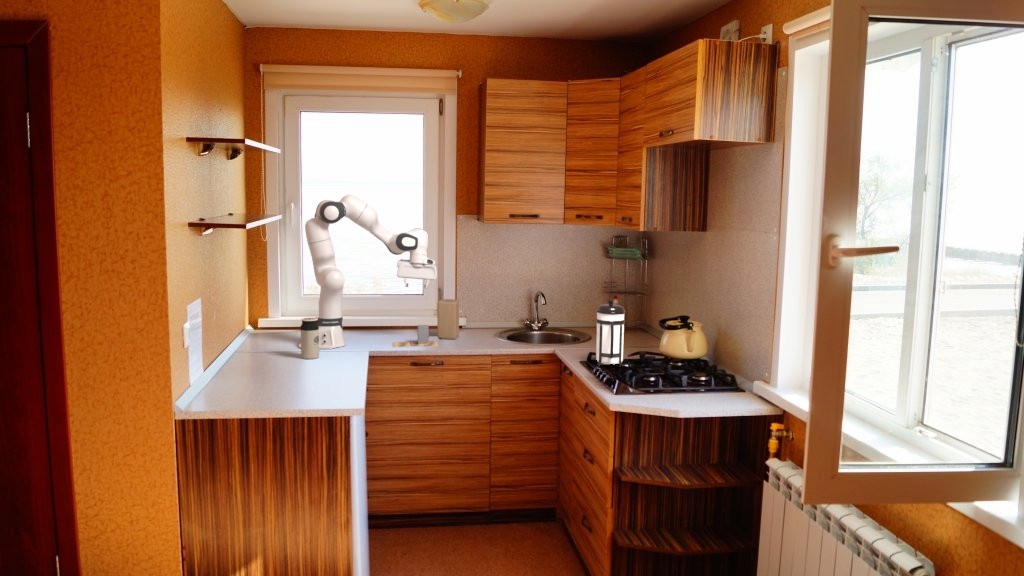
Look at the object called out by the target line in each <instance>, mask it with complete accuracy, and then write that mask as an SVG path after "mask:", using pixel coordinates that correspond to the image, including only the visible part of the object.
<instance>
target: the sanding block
mask: <svg viewBox="0 0 1024 576" xmlns="http://www.w3.org/2000/svg"><path fill="white" fill-rule="evenodd" d="M429 329H430V328H429V324H417V342H418V345H429V341H430V340H429V339H430V338H429V337H430V336H429V333H430V332H429V331H430V330H429Z"/></svg>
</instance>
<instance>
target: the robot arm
mask: <svg viewBox="0 0 1024 576" xmlns="http://www.w3.org/2000/svg"><path fill="white" fill-rule="evenodd" d="M343 218H346V219H347V218H348V219H349V220H350V221H352V222H353V223H355V224H356V225H357V226H359V227H361V228H362V229H364V230H366V231H367V232H369V233H370V234H371V235H372V236H374V237H375V238H376V239H378V240H379V241H380V242H382V243H383V244H384V245H385V247H386V248H387V249H388V252H390V253H391V254H393V255H397V256H398V255H402V254H404V253H406V252H408V253H409V259H399V260H398V261H397V262H396V267H397V272H396V276H397V278H401V279H403V282H404V283H405V285H404V287H405V288H409V283H407V280H408V279H412V280H413V279H417V280H426V284H423V289H425V290H426V289H428V285H429V284H430V281H436V280H437V279H438V270H437V266H436V261H435V260H433V259H431V258H429V257H428V248H429V235H428V232H427V231H426V230H425V229H423V228H419V227H417V228H416V227H415V228H413V229H412V230H409V231H406V232H405V231H404V232H401V233H398V234H395V233H392V232H390V231H389V230H388V229H387V228H385V227H384V226H383V225H381V224H380V222H379V220H378V213H377V211H376V210H375V209H374V208H373V207H372V206H370V205H369V204H368V203H366V202H365V201H364V200H362V199H360V198H358V197H356V196H353V194H346V195H344V196H343V197H341V199H340V200H339V201H334V200H331V199H326V200H325V199H324V200H321V201H320V202H319V203H318V205H317V206H316V210H315V214H314V217H312V218H310V219H308V220H307V221H306V223H304V224H305V225H304V229H305V237H306V241H307V244H308V249H309V253H310V257H311V260H312V265H313V267H312V268H313V272H314V276H315V281H316V283H317V285H319V287H320V294H319V298H318V299H319V300H318V317H314V318H318V320H317V324H318V325H319V350H331V349H335V348H336V349H337V348H340V347H341V348H342V347H344V346H346V341H345V339H344V338H345V337H344V331H343V329H344V319H343V315H342V313H343V311H342V307H343V306H342V302H343V301H342V300H343V293H344V284H345V277H344V274H343V273H342V271H341V270H339V269H337V264H336V257H335V250H334V245H333V243H332V239H331V236H330V235H331V234H330V231H329V226H330V225H331V224H335V223H338V222H339V221H340V220H342V219H343ZM298 348H299V349H301V342H299V344H298Z"/></svg>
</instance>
